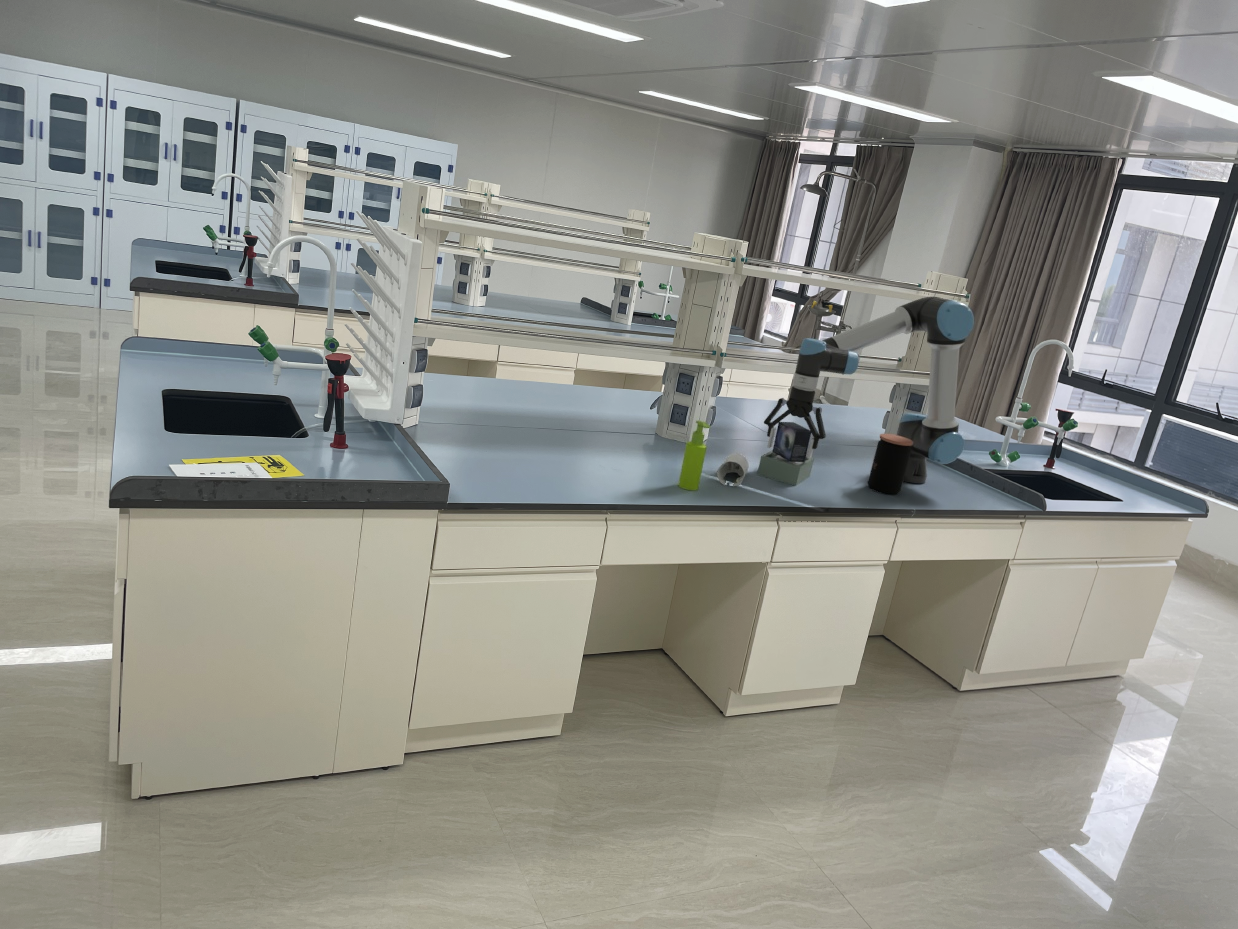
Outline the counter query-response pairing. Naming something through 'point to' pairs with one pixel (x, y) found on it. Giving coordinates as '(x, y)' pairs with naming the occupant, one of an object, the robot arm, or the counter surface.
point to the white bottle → (733, 468)
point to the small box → (791, 441)
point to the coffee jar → (890, 464)
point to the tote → (784, 469)
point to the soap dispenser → (693, 459)
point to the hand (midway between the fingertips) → (789, 452)
